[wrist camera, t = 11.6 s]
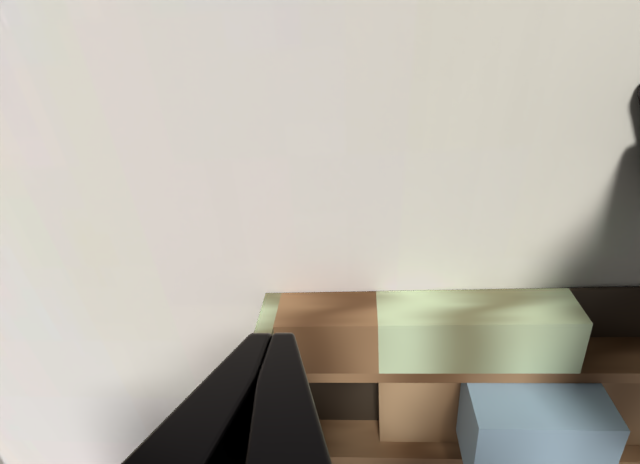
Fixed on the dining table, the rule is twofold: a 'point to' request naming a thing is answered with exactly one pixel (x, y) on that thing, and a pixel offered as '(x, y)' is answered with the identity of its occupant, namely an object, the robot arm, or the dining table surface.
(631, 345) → the tray
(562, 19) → the dining table surface
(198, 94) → the dining table surface
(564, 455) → the block
